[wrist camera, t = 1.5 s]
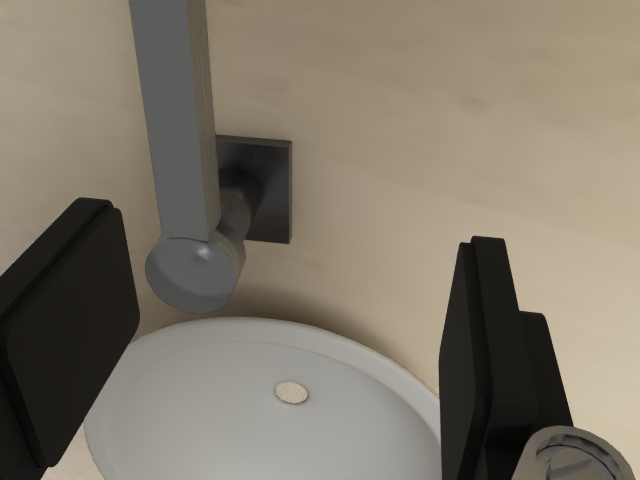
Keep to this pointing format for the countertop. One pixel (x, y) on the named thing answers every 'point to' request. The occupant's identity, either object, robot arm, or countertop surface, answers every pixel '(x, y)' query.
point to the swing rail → (184, 158)
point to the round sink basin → (261, 408)
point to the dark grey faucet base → (256, 187)
